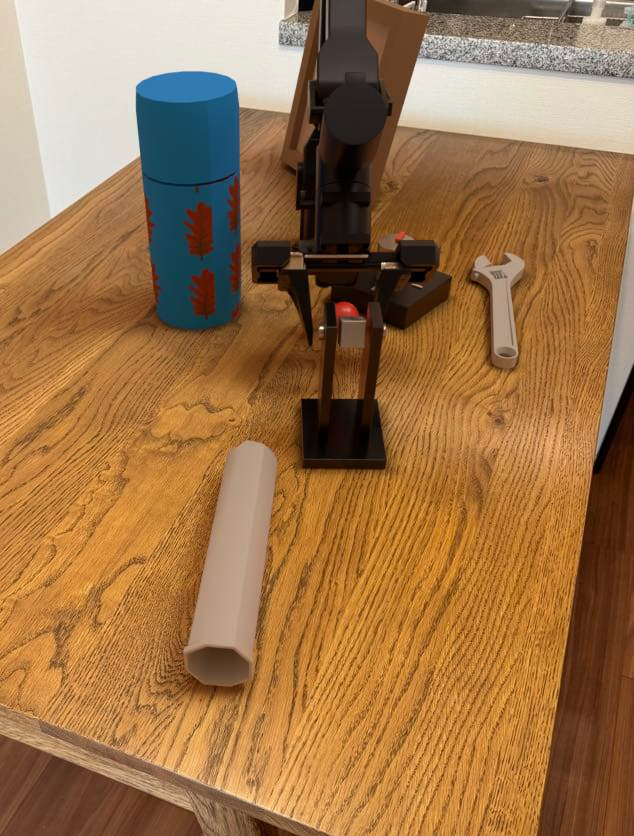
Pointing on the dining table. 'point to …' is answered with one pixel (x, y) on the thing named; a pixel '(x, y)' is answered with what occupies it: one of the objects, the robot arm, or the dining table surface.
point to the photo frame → (397, 51)
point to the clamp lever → (350, 326)
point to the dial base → (397, 298)
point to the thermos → (192, 195)
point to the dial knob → (390, 244)
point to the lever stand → (345, 404)
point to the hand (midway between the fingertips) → (341, 346)
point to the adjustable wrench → (500, 305)
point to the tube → (233, 570)
